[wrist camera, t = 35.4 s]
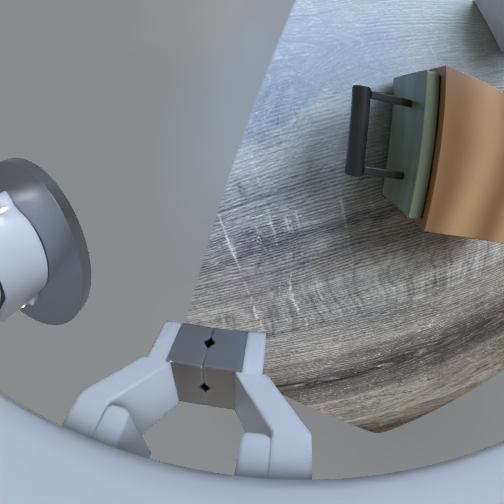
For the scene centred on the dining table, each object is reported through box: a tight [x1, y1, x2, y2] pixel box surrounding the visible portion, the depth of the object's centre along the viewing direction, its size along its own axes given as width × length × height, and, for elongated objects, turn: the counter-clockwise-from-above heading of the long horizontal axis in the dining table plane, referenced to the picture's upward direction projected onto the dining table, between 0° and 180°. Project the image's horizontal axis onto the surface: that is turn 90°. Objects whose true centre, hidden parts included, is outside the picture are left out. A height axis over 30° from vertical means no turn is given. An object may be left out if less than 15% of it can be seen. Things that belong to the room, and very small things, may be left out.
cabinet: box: [411, 66, 504, 243], centre depth 20 cm, size 15×13×9 cm
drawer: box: [345, 70, 441, 219], centre depth 20 cm, size 18×11×7 cm, turn 88°
